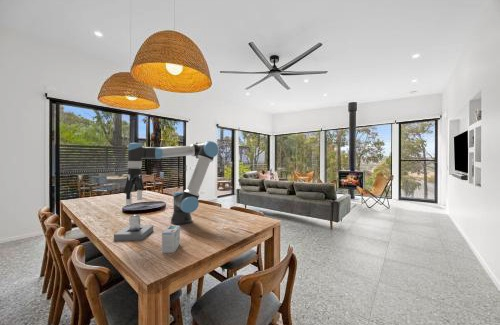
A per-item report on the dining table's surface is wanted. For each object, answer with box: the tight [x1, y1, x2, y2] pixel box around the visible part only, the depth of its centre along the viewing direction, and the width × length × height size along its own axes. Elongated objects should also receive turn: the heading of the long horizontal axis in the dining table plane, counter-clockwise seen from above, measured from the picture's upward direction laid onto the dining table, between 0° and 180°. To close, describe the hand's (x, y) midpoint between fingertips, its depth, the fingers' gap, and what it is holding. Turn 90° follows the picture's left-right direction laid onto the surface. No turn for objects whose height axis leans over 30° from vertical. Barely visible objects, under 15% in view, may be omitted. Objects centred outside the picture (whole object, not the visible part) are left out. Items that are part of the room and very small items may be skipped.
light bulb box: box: [161, 225, 181, 254], centre depth 111 cm, size 11×7×11 cm, turn 5°
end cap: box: [128, 214, 141, 232], centre depth 128 cm, size 6×6×12 cm
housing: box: [113, 224, 154, 241], centre depth 128 cm, size 16×16×4 cm
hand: (134, 202), depth 128 cm, fingers open, 13 cm apart
